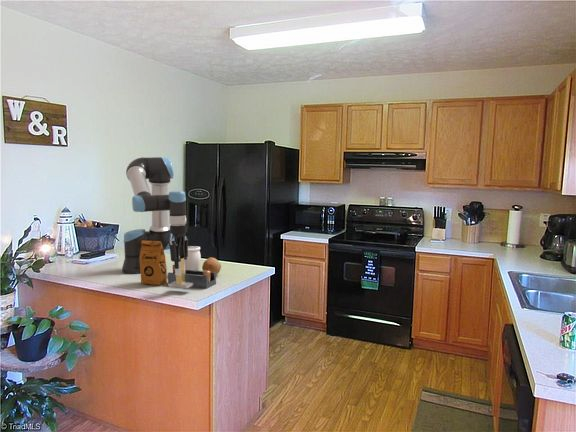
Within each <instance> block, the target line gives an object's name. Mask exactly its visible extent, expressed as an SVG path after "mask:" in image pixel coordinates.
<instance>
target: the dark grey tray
mask: <svg viewBox="0 0 576 432" xmlns="http://www.w3.org/2000/svg"><path fill="white" fill-rule="evenodd" d="M174 281H176V275H175V265H174V264H172V272H167V285H168V286H169V284H170V283H172V282H174ZM185 282H189V283H193V286H191V287H190V288H197V289H206V290H207V289H208V288H211V287H213V286H214V285H216V284H217V275H216V272H210V270H204V271H203V270H199V271H197V270H185Z"/></svg>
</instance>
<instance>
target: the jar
mask: <svg viewBox="0 0 576 432" xmlns="http://www.w3.org/2000/svg"><path fill="white" fill-rule="evenodd" d="M200 250H201V246H197V245H194V246H193V245H190V246H189V245H188V257H186V258H187V260H185V270H197V271H200V267H201V261H202V259H201V258H202V256H201V251H200ZM185 255H186V254H185Z"/></svg>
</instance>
